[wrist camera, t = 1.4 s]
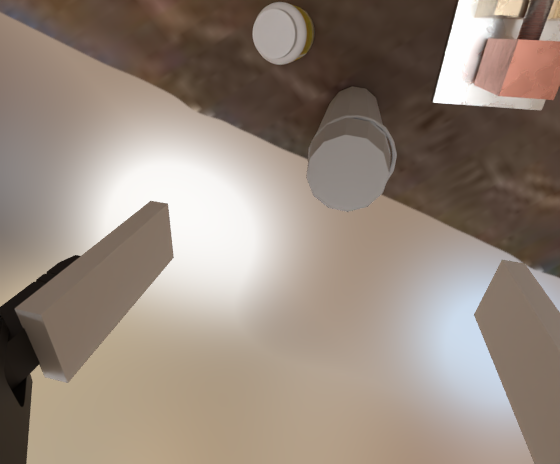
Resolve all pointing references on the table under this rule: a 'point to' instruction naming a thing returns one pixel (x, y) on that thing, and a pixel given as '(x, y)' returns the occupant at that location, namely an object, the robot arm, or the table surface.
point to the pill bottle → (283, 33)
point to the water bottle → (350, 152)
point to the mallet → (523, 60)
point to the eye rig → (471, 44)
